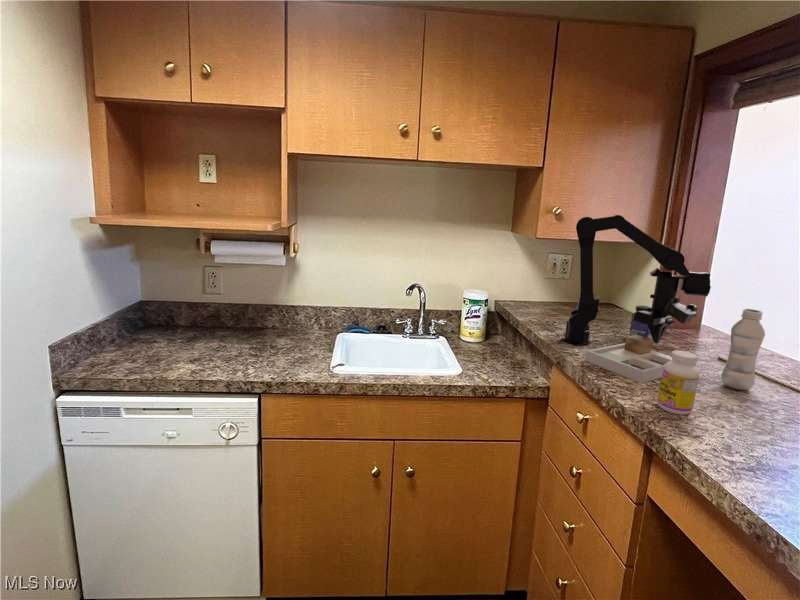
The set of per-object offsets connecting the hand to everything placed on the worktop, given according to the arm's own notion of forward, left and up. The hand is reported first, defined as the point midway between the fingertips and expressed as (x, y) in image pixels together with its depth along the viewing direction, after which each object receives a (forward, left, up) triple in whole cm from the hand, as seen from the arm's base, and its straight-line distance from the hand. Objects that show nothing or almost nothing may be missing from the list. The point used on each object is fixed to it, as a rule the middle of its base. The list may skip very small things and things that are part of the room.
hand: (656, 342), depth 134 cm
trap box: (+4, -15, -3) cm, 16 cm away
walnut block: (0, -9, -1) cm, 9 cm away
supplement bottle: (+25, -33, -4) cm, 41 cm away
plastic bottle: (+25, -6, -4) cm, 25 cm away
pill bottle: (-11, +10, -4) cm, 16 cm away
